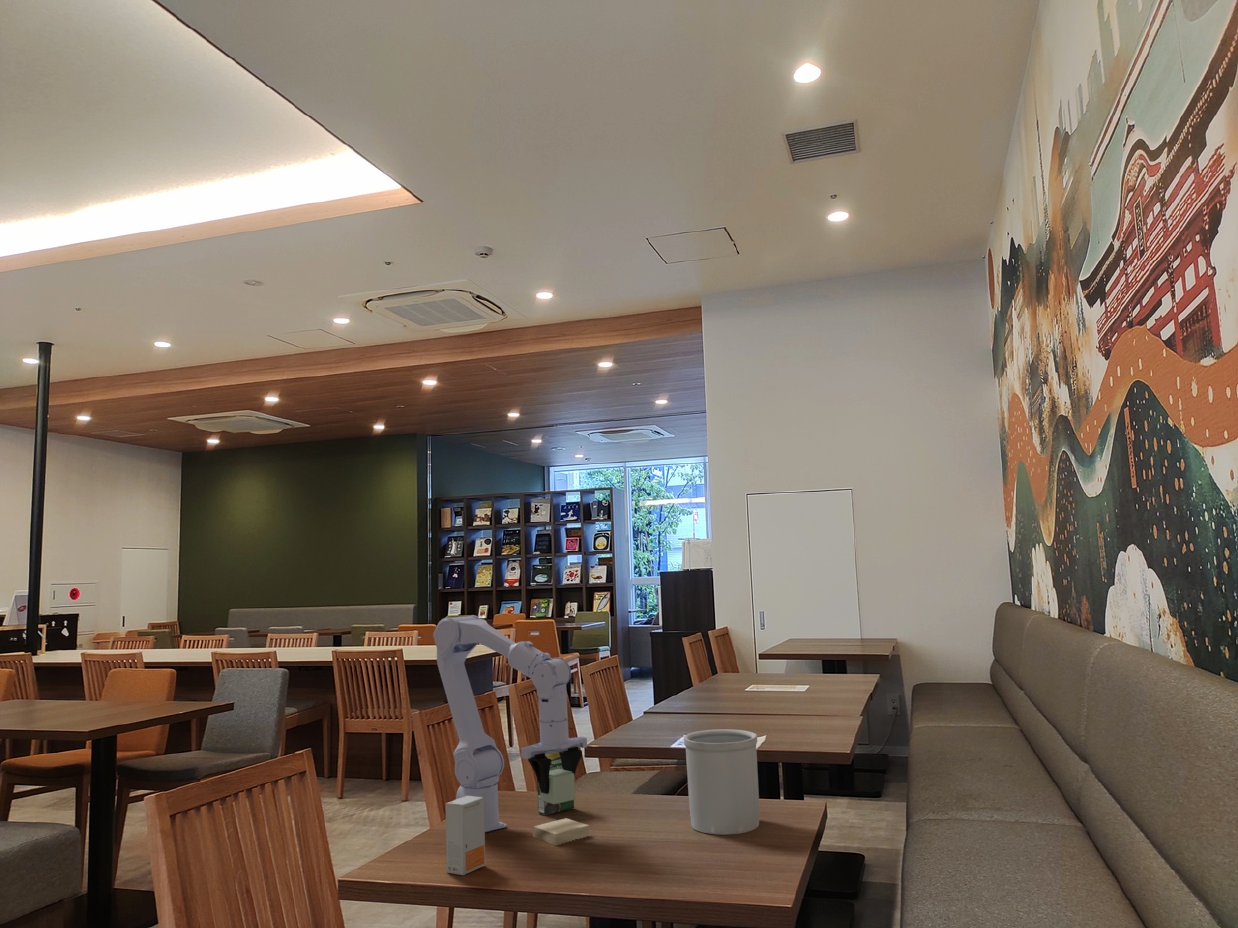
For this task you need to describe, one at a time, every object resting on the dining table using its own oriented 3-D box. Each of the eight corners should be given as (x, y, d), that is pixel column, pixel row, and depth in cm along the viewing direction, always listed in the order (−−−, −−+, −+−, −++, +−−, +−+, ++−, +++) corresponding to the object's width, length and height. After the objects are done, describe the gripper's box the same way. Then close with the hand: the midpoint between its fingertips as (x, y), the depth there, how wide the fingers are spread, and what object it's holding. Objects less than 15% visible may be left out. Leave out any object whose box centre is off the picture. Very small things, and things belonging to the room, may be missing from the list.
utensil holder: (779, 824, 173) (772, 733, 176) (722, 840, 165) (715, 745, 167) (729, 811, 185) (723, 726, 188) (674, 825, 177) (668, 736, 179)
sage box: (540, 799, 174) (539, 772, 175) (561, 795, 177) (560, 768, 178) (554, 804, 170) (552, 776, 171) (575, 799, 174) (574, 771, 174)
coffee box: (543, 816, 189) (541, 753, 191) (537, 813, 192) (534, 752, 193) (575, 809, 194) (572, 748, 196) (568, 806, 196) (565, 746, 198)
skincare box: (464, 876, 153) (461, 804, 154) (445, 873, 155) (444, 802, 156) (487, 865, 158) (484, 796, 159) (469, 862, 160) (467, 794, 162)
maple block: (533, 839, 174) (533, 826, 174) (566, 830, 179) (566, 817, 179) (555, 847, 168) (555, 834, 168) (589, 838, 173) (588, 825, 173)
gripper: (533, 727, 169) (536, 800, 167) (594, 716, 177) (597, 786, 176) (514, 723, 174) (517, 794, 172) (574, 713, 183) (578, 781, 181)
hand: (556, 789), depth 174 cm, fingers closed on sage box, 5 cm apart
